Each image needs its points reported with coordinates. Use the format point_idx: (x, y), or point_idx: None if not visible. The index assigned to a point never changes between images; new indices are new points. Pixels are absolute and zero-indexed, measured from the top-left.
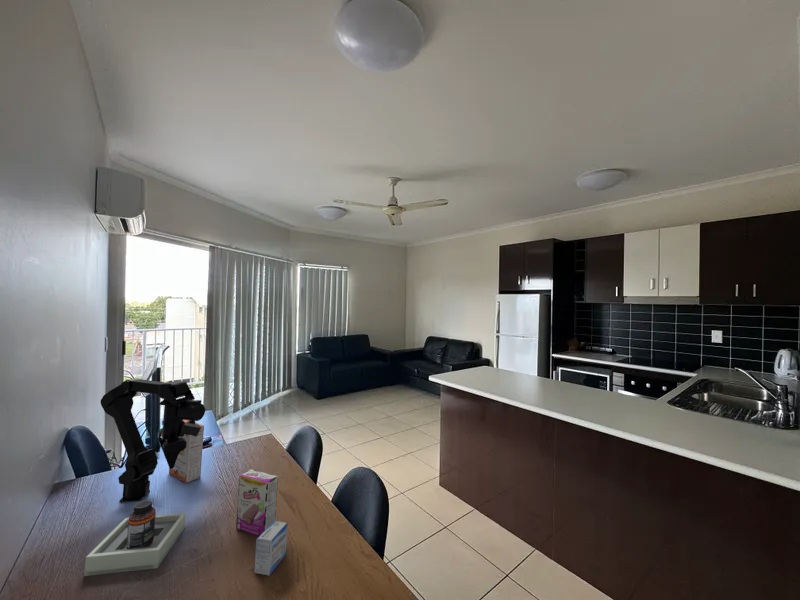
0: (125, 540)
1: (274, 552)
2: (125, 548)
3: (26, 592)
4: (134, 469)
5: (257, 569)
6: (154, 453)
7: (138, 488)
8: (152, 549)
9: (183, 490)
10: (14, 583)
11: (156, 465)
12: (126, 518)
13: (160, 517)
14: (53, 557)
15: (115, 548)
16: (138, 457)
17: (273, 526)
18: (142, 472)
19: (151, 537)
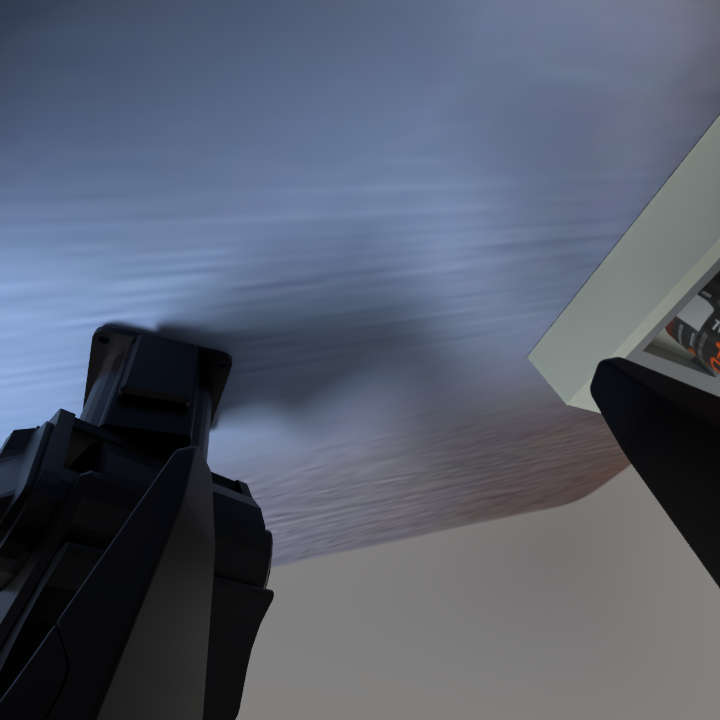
0: (666, 356)
1: None
2: (669, 339)
3: (613, 475)
4: (265, 588)
5: None
6: (30, 645)
7: (203, 418)
8: None
9: (159, 74)
10: (555, 503)
11: (108, 468)
12: (576, 400)
13: (710, 262)
14: (505, 482)
15: (708, 377)
16: (230, 705)
17: None
18: (250, 515)
19: None
